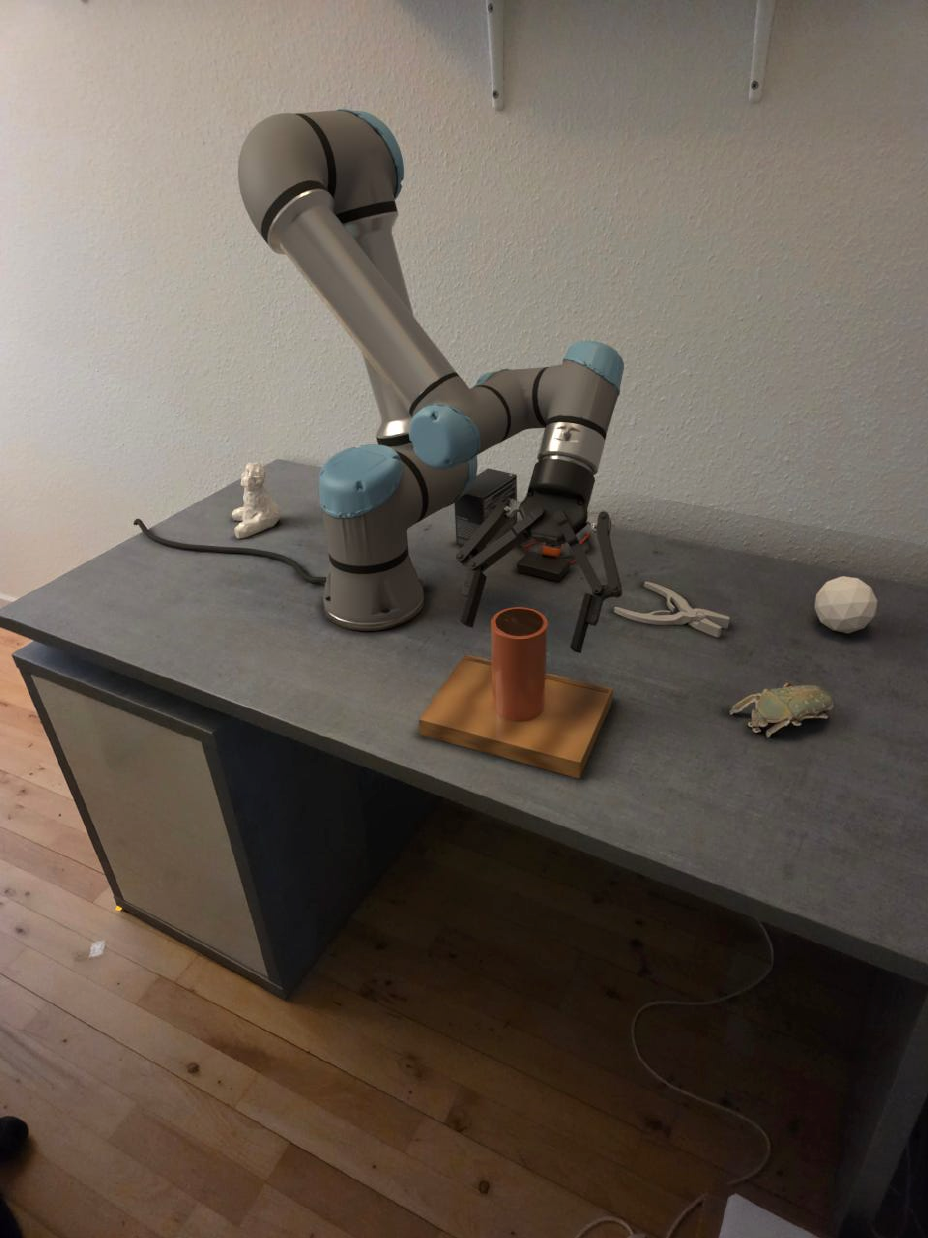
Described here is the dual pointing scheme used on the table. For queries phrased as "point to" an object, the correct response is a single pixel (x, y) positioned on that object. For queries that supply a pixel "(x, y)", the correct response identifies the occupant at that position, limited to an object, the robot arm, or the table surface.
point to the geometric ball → (845, 604)
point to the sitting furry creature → (255, 504)
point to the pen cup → (518, 663)
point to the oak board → (540, 742)
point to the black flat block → (546, 562)
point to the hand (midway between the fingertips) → (519, 637)
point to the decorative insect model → (785, 706)
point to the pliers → (679, 613)
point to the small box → (484, 504)
